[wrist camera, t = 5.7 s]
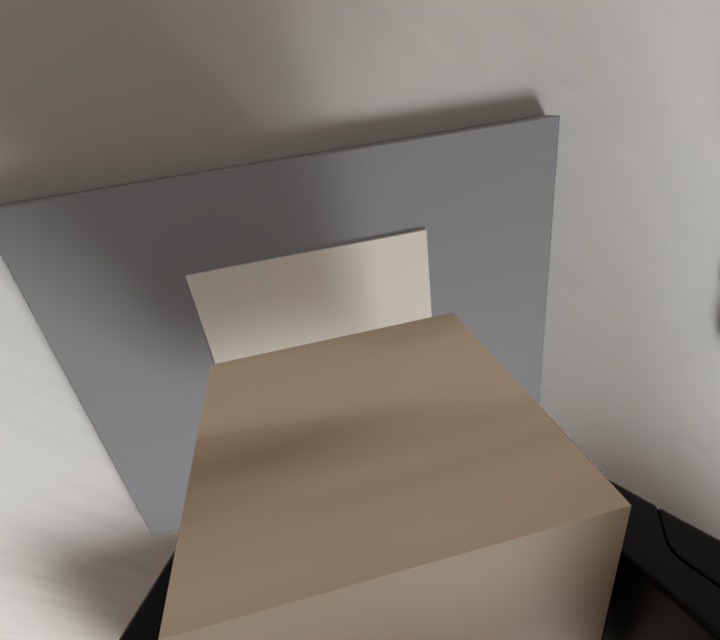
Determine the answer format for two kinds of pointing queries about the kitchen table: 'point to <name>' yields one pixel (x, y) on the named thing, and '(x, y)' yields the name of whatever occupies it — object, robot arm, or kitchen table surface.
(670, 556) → the robot arm
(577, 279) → the kitchen table surface
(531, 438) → the beech cube
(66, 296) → the slate board
